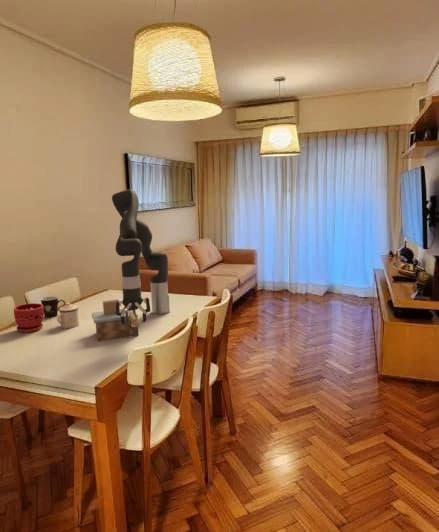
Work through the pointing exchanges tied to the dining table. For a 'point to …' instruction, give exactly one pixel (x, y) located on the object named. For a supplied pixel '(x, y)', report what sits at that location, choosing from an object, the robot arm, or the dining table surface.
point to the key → (133, 320)
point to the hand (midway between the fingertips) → (133, 323)
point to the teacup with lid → (68, 316)
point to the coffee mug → (50, 306)
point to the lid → (108, 313)
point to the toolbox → (116, 329)
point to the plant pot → (29, 317)
